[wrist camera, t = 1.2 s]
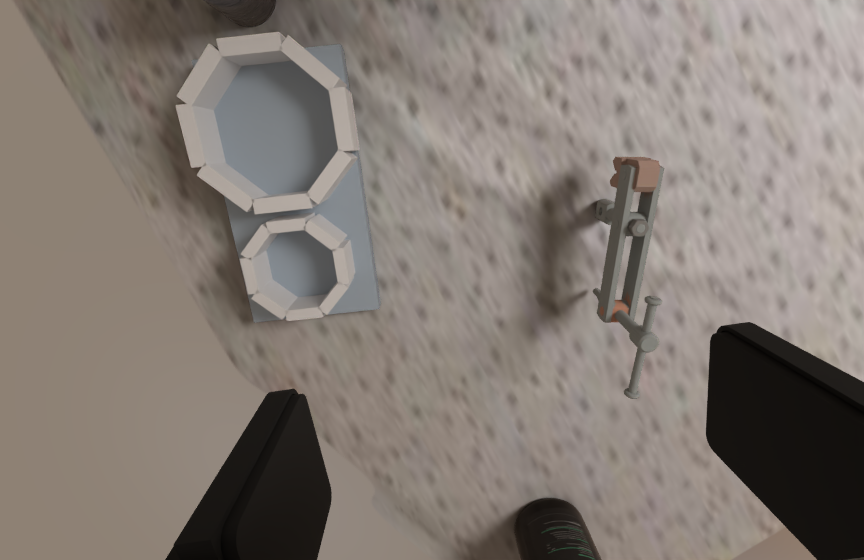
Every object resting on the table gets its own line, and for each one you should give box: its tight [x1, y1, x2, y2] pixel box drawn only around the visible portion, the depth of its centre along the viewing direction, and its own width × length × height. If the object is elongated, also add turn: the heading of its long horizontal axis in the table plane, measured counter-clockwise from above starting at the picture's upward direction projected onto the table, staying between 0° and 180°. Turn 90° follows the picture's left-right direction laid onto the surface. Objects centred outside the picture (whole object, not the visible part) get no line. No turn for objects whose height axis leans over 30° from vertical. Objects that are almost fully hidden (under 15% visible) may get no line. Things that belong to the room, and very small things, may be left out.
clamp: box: [593, 157, 664, 399], centre depth 30 cm, size 15×2×10 cm, turn 0°
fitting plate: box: [175, 32, 381, 323], centre depth 31 cm, size 19×11×4 cm, turn 6°
